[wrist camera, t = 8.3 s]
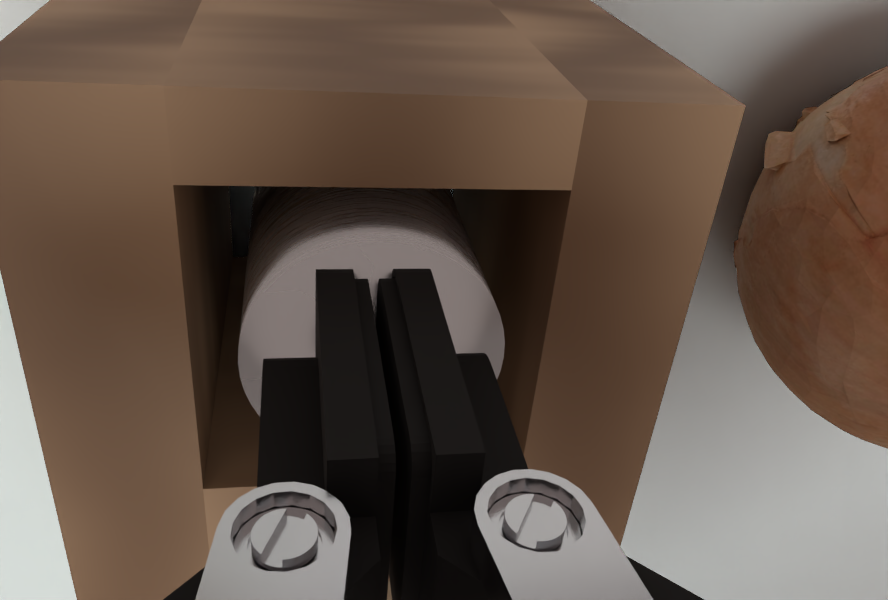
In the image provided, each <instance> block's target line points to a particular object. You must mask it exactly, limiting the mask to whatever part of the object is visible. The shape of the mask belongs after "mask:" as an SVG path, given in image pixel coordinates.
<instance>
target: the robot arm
mask: <svg viewBox="0 0 888 600" xmlns="http://www.w3.org/2000/svg"><path fill="white" fill-rule="evenodd" d="M388 579H390V587H391V595H392V600H704V599H702V598H700V597H698V596H697V595H695V594H693V593H691V592H690V591H688V590H686V589H684V588H682V587H681V586H679V585H677V584H675V583H673V582H672V581H670V580H668V579H666V578H664V577H663V576H661V575H659V574H657V573H656V572H654V571H652V570H650V569H648V568H647V567H645V566H643V565H641V564H639V563H638V562H636V561H634V560H632V559H630V558H629V557H627V556H626V555H625V554H624V552H623V550H622V549H621V547H620V546H619V544H618V543H617V541H616V539H615V538H614V536H613V535H612V533H611V531H610V530H609V528H608V527H607V525H606V523H605V522H604V520H603V519H602V517H601V515H600V514H599V512H598V511H597V509H596V508H595V506H594V504H593V503H592V502H591V500H590V499H589V498H588V497H587V496H586V495H585V493H584V492H583V491H582V490H581V489H580V488H578V487H577V486H575V485H574V484H572V483H571V482H570V481H568V480H567V479H564V478H562V477H559V476H557V475H555V474H552V473H550V472H544V471H539V470H533V469H528V466H527V464H526V461H525V458H524V455H523V452H522V450H521V447H520V444H519V441H518V438H517V435H516V433H515V430H514V427H513V424H512V421H511V419H510V416H509V413H508V410H507V407H506V404H505V402H504V399H503V396H502V393H501V390H500V388H499V385H498V382H497V379H496V376H495V373H494V371H493V368H492V365H491V362H490V360H489V358H488V356H487V355H486V354H485V353H459V354H456V351H455V348H454V345H453V341H452V338H451V335H450V331H449V328H448V325H447V321H446V318H445V315H444V311H443V308H442V305H441V301H440V298H439V294H438V291H437V288H436V284H435V281H434V278H433V274H432V271H431V269H393V271H392V277H391V278H382V279H379V281H378V292H377V313H376V324H375V318H374V311H373V305H372V299H371V293H370V287H369V281H368V279H355V277H354V271H353V269H316V292H315V357H305V358H266V359H263V367H262V388H261V409H260V431H259V452H258V473H257V488H255V489H253V490H251V491H250V492H248V493H246V494H244V495H243V496H241V497H239V498H238V499H237V500H236V501H235V502H234V503H233V504H231V505H230V506H229V507H228V508H227V509H226V510H225V512H224V514H223V516H222V518H221V520H220V522H219V524H218V526H217V528H216V532H215V535H214V539H213V542H212V545H211V549H210V552H209V555H208V559H207V562H206V565H205V567H204V568H203V569H202V570H200V571H199V572H198V573H196V574H195V575H194V576H193V577H191V578H190V579H189V580H187V581H186V582H185V583H184V584H182V585H181V586H180V587H178V588H177V589H176V590H175V591H173V592H172V593H171V594H170V595H168V596H167V597H166V598H164V599H163V600H387V593H388Z"/></svg>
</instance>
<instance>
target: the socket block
mask: <svg viewBox="0 0 888 600" xmlns="http://www.w3.org/2000/svg"><path fill="white" fill-rule="evenodd" d="M745 107H746V105H744V104H743V103H741V102H740V101H738V100H737V99H735V98H734V97H732V96H731V95H729V94H728V93H726V92H725V91H723V90H722V89H720V88H719V87H717V86H716V85H714V84H713V83H711V82H710V81H709V80H707V79H706V78H704V77H703V76H701V75H700V74H698V73H697V72H695V71H694V70H692V69H691V68H689V67H688V66H686V65H685V64H683V63H682V62H680V61H679V60H677V59H676V58H674V57H673V56H671V55H670V54H669V53H667V52H666V51H664V50H663V49H661V48H660V47H658V46H657V45H655V44H654V43H652V42H651V41H649V40H648V39H646V38H645V37H643V36H642V35H640V34H639V33H637V32H636V31H634V30H633V29H632V28H630V27H629V26H627V25H626V24H624V23H623V22H621V21H620V20H618V19H617V18H615V17H614V16H612V15H611V14H609V13H608V12H606V11H605V10H603V9H602V8H600V7H599V6H597V5H596V4H595V3H593V2H592V1H590V0H50V1H49V2H47V3H46V4H45V5H44V6H43V7H41V8H40V9H39V10H38V11H36V12H35V13H34V14H33V15H32V16H30V17H29V18H28V19H27V20H26V21H24V22H23V23H22V24H21V25H20V26H18V27H17V28H16V29H15V30H14V31H12V32H11V33H10V34H9V35H8V36H6V37H5V38H4V39H3V40H2V41H0V271H1V275H2V279H3V284H4V288H5V292H6V296H7V301H8V305H9V309H10V314H11V318H12V322H13V327H14V331H15V335H16V339H17V344H18V348H19V352H20V357H21V361H22V365H23V369H24V374H25V378H26V382H27V387H28V391H29V395H30V400H31V404H32V408H33V412H34V417H35V421H36V425H37V430H38V434H39V438H40V442H41V447H42V451H43V455H44V460H45V464H46V468H47V472H48V477H49V481H50V485H51V490H52V494H53V498H54V503H55V507H56V511H57V515H58V520H59V524H60V528H61V533H62V537H63V541H64V545H65V550H66V554H67V558H68V563H69V567H70V571H71V576H72V580H73V584H74V588H75V593H76V597H77V600H163V599H164V598H166V597H167V596H168V595H170V594H171V593H172V592H173V591H175V590H176V589H177V588H178V587H180V586H181V585H182V584H184V583H185V582H186V581H187V580H189V579H190V578H191V577H193V576H194V575H195V574H196V573H198V572H199V571H200V570H202V569H203V568H204V567H205V565H206V562H207V559H208V555H209V552H210V549H211V545H212V542H213V539H214V535H215V532H216V528H217V526H218V524H219V522H220V520H221V518H222V516H223V514H224V512H225V510H226V509H227V508H228V507H229V506H230V505H231V504H233V503H234V502H235V501H236V500H237V499H238V498H239V497H241V496H243V495H244V494H246V493H248V492H250V491H251V490H253V489H255V488H257V473H258V452H259V431H260V416H259V415H258V414H257V412H256V411H255V409H254V408H253V407H252V405H251V404H250V402H249V400H248V398H247V396H246V394H245V392H244V389H243V386H242V382H241V379H240V374H239V367H238V347H239V337H240V327H241V317H242V306H243V296H244V286H245V276H246V266H247V256H239V257H233V245H232V228H231V211H230V194H229V186H283V187H358V188H433V189H454V191H453V199H454V202H455V204H456V207H457V209H458V212H459V214H460V217H461V219H462V222H463V224H464V227H465V229H466V232H467V234H468V237H469V239H470V242H471V244H472V247H473V249H474V252H475V254H476V257H477V259H478V261H479V264H480V266H481V269H482V271H483V274H484V276H485V279H486V281H487V284H488V286H489V289H490V291H491V294H492V296H493V299H494V301H495V304H496V306H497V309H498V311H499V314H500V317H501V321H502V325H503V329H504V339H505V347H504V358H503V363H502V367H501V371H500V374H499V376H498V379H497V382H498V385H499V388H500V390H501V393H502V396H503V399H504V402H505V404H506V407H507V410H508V413H509V416H510V419H511V421H512V424H513V427H514V430H515V433H516V435H517V438H518V441H519V444H520V447H521V450H522V452H523V455H524V458H525V461H526V464H527V466H528V469H533V470H539V471H544V472H550V473H552V474H555V475H557V476H559V477H562V478H564V479H567V480H568V481H570V482H571V483H572V484H574V485H575V486H577V487H578V488H580V489H581V490H582V491H583V492H584V493H585V495H586V496H587V497H588V498H589V499H590V500H591V502H592V503H593V504H594V506H595V508H596V509H597V511H598V512H599V514H600V515H601V517H602V519H603V520H604V522H605V523H606V525H607V527H608V528H609V530H610V531H611V533H612V535H613V536H614V538H615V539H616V541H617V543H618V544H619V546H620V545H621V541H622V538H623V534H624V531H625V527H626V524H627V520H628V517H629V513H630V510H631V506H632V503H633V499H634V496H635V492H636V489H637V485H638V482H639V478H640V475H641V471H642V468H643V464H644V461H645V457H646V454H647V450H648V447H649V443H650V440H651V436H652V433H653V429H654V426H655V422H656V419H657V415H658V412H659V408H660V405H661V401H662V398H663V394H664V391H665V387H666V384H667V380H668V377H669V373H670V370H671V366H672V363H673V359H674V356H675V352H676V349H677V345H678V342H679V338H680V335H681V331H682V328H683V324H684V321H685V317H686V314H687V310H688V307H689V303H690V300H691V296H692V293H693V289H694V286H695V282H696V279H697V275H698V272H699V268H700V265H701V261H702V258H703V254H704V251H705V247H706V244H707V240H708V237H709V233H710V230H711V226H712V223H713V219H714V216H715V212H716V209H717V205H718V202H719V198H720V195H721V191H722V188H723V184H724V181H725V177H726V174H727V170H728V167H729V163H730V160H731V156H732V153H733V149H734V146H735V142H736V139H737V135H738V132H739V128H740V125H741V121H742V118H743V114H744V110H745ZM388 581H390V579H388Z"/></svg>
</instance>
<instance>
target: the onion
mask: <svg viewBox="0 0 888 600" xmlns="http://www.w3.org/2000/svg"><path fill="white" fill-rule="evenodd" d="M834 95H835V94H834ZM831 96H832V95H831ZM733 254H734V255H733V257H734V263H735V267H736V268H737V283H738V293H739V296H740V300H741V303H742V306H743V309H744V313H745V316H746V319H747V322H748V325H749V327H750V330H751V332H752V335H753V338H754V340H755V342H756V344H757V346H758V347H759V349H760V351H761V352H762V354H763V356H764V357H765V359H766V361H767V362H768V364H769V365H770V367H771V368H772V369H773V371H774V372H775V373H776V374H777V376H778V377H779V378H780V379H781V380H782V381H783V383H784V384H785V385H786V386H787V387H788V388H789V390H791V391H792V392H793V393H794V394H795V395H796V396H797V397H798V398H799V399H800V400H801V401H802V402H803V403H804V404H806V405H807V406H808V407H809V408H810V409H811V410H812V411H814V412H815V413H817V414H818V415H820V416H821V417H823V418H824V419H826V420H827V421H829V422H830V423H832V424H834V425H835V426H837V427H838V428H840V429H842V430H843V431H845V432H847V433H849V434H851V435H853V436H856V437H858V438H860V439H862V440H865V441H867V442H870V443H873V444H876V445H879V446H882V447H885V448H888V66H886V67H884V68H882V69H879V70H877V71H875V72H873V73H871V74H869V75H867V76H866V77H864V78H862V79H859V80H857V81H855V82H854V83H853V85H851V86H849V87H848V88H846V89H844V90H842V91H840V92H838V93H836V95H835V96H833V97H832V98H830V99H829V100H827V101H826V102H825V103H823V104H822V105H820V106H819V107H808V108H804V110H803V111H802V117H801V118H799V119H798V121H797V124H796V127H795V129H794V130H793V131H792V132H786V131H775V132H772V133H769V134H768V137H767V140H766V143H765V157H764V169H763V170H762V172H761V174H760V176H759V179H758V181H757V183H756V185H755V187H754V189H753V191H752V193H751V196H750V199H749V202H748V205H747V208H746V211H745V214H744V218H743V221H742V224H741V226H740V229H739V231H738V240H736V241H734V252H733Z"/></svg>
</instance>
